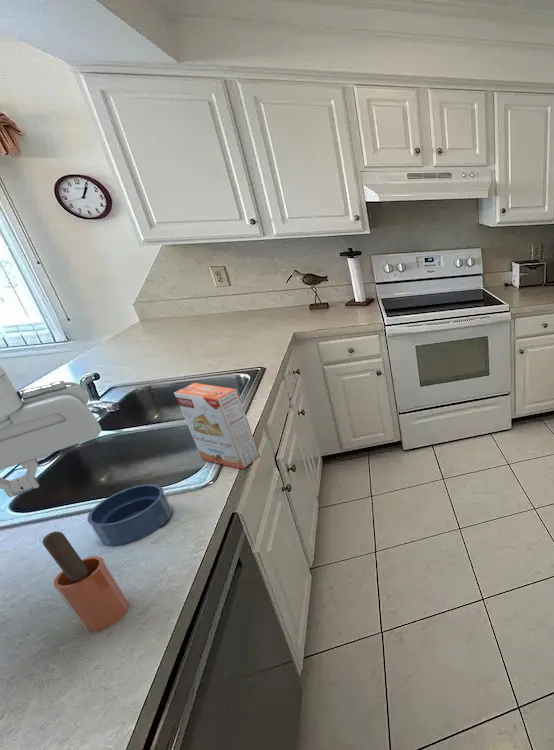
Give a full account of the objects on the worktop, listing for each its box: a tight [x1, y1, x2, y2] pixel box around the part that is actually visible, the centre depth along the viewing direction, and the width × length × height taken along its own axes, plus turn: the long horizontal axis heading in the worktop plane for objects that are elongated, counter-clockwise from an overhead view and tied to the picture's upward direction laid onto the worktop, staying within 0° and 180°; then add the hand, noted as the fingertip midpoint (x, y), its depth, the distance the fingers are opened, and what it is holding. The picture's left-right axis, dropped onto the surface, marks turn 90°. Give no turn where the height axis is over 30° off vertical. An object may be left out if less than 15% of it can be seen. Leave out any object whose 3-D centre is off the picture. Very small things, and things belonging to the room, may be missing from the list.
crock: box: [53, 555, 131, 633], centre depth 67 cm, size 6×6×11 cm
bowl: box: [87, 483, 173, 547], centre depth 87 cm, size 12×12×6 cm
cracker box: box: [173, 382, 261, 470], centre depth 104 cm, size 14×6×21 cm, turn 73°
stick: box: [42, 531, 91, 584], centre depth 64 cm, size 2×2×20 cm
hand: (24, 490), depth 58 cm, fingers closed
